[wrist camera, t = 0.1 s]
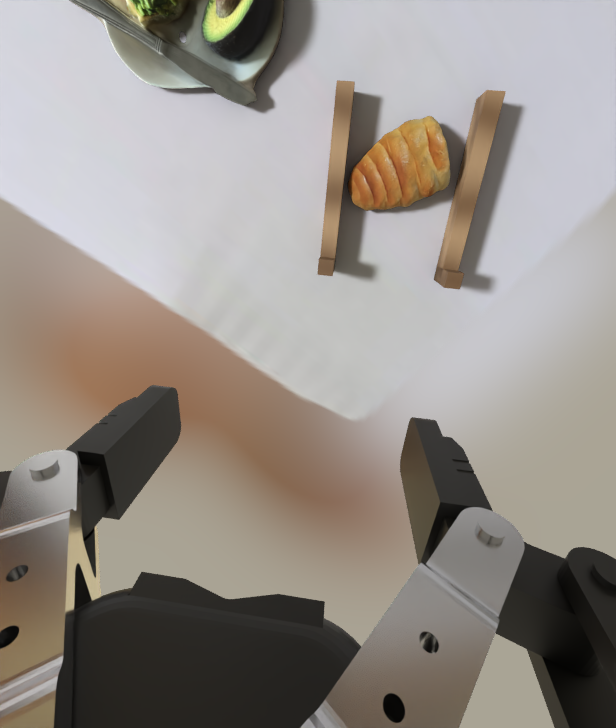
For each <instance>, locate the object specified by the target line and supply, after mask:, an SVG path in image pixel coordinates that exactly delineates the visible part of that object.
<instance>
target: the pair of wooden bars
mask: <svg viewBox="0 0 616 728" xmlns="http://www.w3.org/2000/svg"><path fill="white" fill-rule="evenodd" d="M505 92H506V91H492V90H487V91H486V92H484V93H483V94H482V95H481V96H480V97H479V98H478V99H477V100H476V104H475V108H474V112H473V117H472V121H471V125H470V129H469V134H468V138H467V142H466V146H465V150H464V155H463V159H462V163H461V167H460V171H459V176H458V180H457V184H456V188H455V192H454V197H453V201H452V205H451V209H450V213H449V218H448V222H447V226H446V230H445V235H444V239H443V243H442V247H441V251H440V256H439V260H438V264H437V268H436V272H435V277H434V280H435V281H436V282H438V283H439V284H440V285H442V286H443V287H444V288H453V289H460V287H461V283H462V279H463V276H464V273H462V272H460V271H458V269H459V265H460V262H461V258H462V254H463V250H464V247H465V243H466V239H467V235H468V232H469V228H470V224H471V220H472V216H473V213H474V209H475V205H476V201H477V198H478V194H479V190H480V186H481V182H482V179H483V175H484V171H485V167H486V164H487V160H488V156H489V152H490V148H491V145H492V141H493V137H494V133H495V130H496V126H497V122H498V118H499V115H500V111H501V107H502V103H503V99H504V96H505ZM353 97H354V82H352V81H337V86H336V96H335V107H334V118H333V128H332V139H331V150H330V160H329V171H328V182H327V193H326V203H325V214H324V225H323V235H322V246H321V257H320V258H319V265H318V275H327V276H333V272H334V266H335V257H336V249H337V240H338V231H339V222H340V213H341V204H342V195H343V186H344V177H345V168H346V159H347V150H348V141H349V132H350V124H351V115H352V106H353Z"/></svg>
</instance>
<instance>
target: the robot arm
mask: <svg viewBox="0 0 616 728" xmlns="http://www.w3.org/2000/svg"><path fill="white" fill-rule="evenodd" d="M180 430H181V421H180V413H179V402H178V394H177V390H176V389H175V388H172V387H163V386H156V385H152V386H150V387H149V388H147V390H145V391H144V392H143V393H142V394H141V395H140V396H138V397H137V398H136V397H135V398H132V399H130V400H128V401H126V402H124V403H121V404H120V405H118V406H117V407H116V408H115V409H114V410H112V411H111V412H110V413H109V414H108V416H105V417H104V418H103V419H102V420H100V421H99V424H98V423H97V424H96V425H94V426H93V427H92V428H91V429H90V430H88V431H87V432H86V433H85V434H84V435H82V436H81V437H80V438H79V439H78V440H77V441H75V442H74V443H73V444H72V445H71V446H69V447H68V448H67V449H66V450H52V451H47V452H43V453H40V454H37V455H35V456H32V457H30V458H28V459H26V460H25V461H23V462H22V463H20V464H19V465H18V466H16V467H15V468H14V470H13V471H4V472H0V728H459V726H460V724H461V721H462V718H463V716H464V713H465V711H466V708H467V705H468V703H469V700H470V698H471V695H472V692H473V690H474V687H475V685H476V682H477V679H478V677H479V674H480V671H481V668H482V666H483V664H484V661H485V658H486V656H487V653H488V651H489V648H490V645H491V643H492V640H493V638H494V635H495V633H496V634H498V635H500V636H502V637H504V638H506V639H508V640H510V641H512V642H514V643H516V644H518V645H520V646H522V647H524V648H526V649H527V651H528V654H529V657H530V659H531V662H532V665H533V668H534V671H535V674H536V676H537V679H538V682H539V685H540V688H541V690H542V693H543V696H544V699H545V702H546V704H547V707H548V710H549V713H550V716H551V718H552V721H553V724H554V727H555V728H616V559H614V558H612V557H611V556H609V555H607V554H605V553H603V552H600V551H597V550H595V549H591V548H585V547H578V548H574V549H572V550H571V551H570V552H569V553H568V555H567V557H566V558H565V559H564V558H561V557H559V556H557V555H554V554H552V553H549V552H546V551H544V550H541V549H539V548H536V547H534V546H531V545H529V544H527V543H525V542H524V541H523V538H522V536H521V535H520V533H519V532H518V530H517V529H516V528H515V527H514V526H513V525H512V524H511V523H510V522H509V521H508V520H506V519H505V518H504V517H502V516H501V515H499V514H497V513H495V512H493V511H492V508H491V506H490V504H489V502H488V500H487V498H486V496H485V494H484V491H483V489H482V487H481V485H480V483H479V481H478V479H477V477H476V475H475V474H474V471H473V469H472V467H471V465H470V464H469V460H468V458H467V456H466V454H465V452H464V450H463V448H462V447H460V446H459V445H458V444H457V443H456V442H455V441H454V440H453V439H452V438H450V437H443V436H442V434H441V431H440V429H439V426H438V424H437V422H436V421H435V420H430V419H421V418H413V417H412V418H411V419H410V421H409V425H408V429H407V433H406V437H405V442H404V446H403V450H402V454H401V461H400V472H401V477H402V483H403V488H404V493H405V498H406V503H407V508H408V513H409V518H410V523H411V528H412V534H413V538H414V544H415V549H416V554H417V559H418V564H419V565H418V567H417V568H416V569H415V571H414V572H413V574H412V575H411V577H410V578H409V579H408V581H407V582H406V584H405V585H404V587H403V588H402V589H401V591H400V592H399V594H398V595H397V597H396V598H395V599H394V601H393V602H392V604H391V605H390V607H389V608H388V610H387V611H386V612H385V614H384V615H383V617H382V618H381V620H380V621H379V622H378V624H377V626H376V627H375V628H374V630H373V631H372V633H371V634H370V635H369V637H368V639H367V640H366V641H365V643H364V644H363V646H362V647H361V646H360V645H359V644H358V643H357V642H356V640H354V638H353V637H351V636H350V635H349V634H348V633H346V632H345V631H344V630H343V629H342V628H340V627H339V626H337V625H335V624H334V623H332V622H330V621H328V620H326V619H324V601H317V600H311V599H305V598H298V597H292V596H286V595H280V594H275V595H266V596H257V597H250V598H240V599H225V598H222V597H220V596H218V595H216V594H214V593H212V592H210V591H208V590H206V589H204V588H202V587H200V586H198V585H196V584H194V583H192V582H190V581H188V580H186V579H183V578H176V577H170V576H164V575H158V574H152V573H145V572H141V574H140V576H139V577H138V580H137V581H136V583H135V585H134V586H133V588H129V589H124V590H119V591H116V592H112V593H110V594H107V595H104V596H101V591H100V572H99V550H98V549H99V547H98V531H97V527H96V524H97V523H98V522H99V521H100V520H101V518H102V517H105V518H112V519H118V520H119V519H120V518H121V517H122V515H123V514H124V513H125V511H126V510H127V508H128V507H129V506H130V504H131V503H132V502H133V500H134V499H135V498H136V496H137V495H138V494H139V492H140V491H141V490H142V488H143V487H144V486H145V484H146V483H147V482H148V480H149V479H150V478H151V476H152V475H153V474H154V472H155V471H156V470H157V468H158V467H159V465H160V464H161V463H162V462H163V460H164V459H165V457H166V456H167V455H168V453H169V452H170V451H171V449H172V448H173V447H174V445H175V444H176V443H177V441H178V438H179V435H180Z"/></svg>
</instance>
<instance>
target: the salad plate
mask: <svg viewBox="0 0 616 728" xmlns="http://www.w3.org/2000/svg"><path fill="white" fill-rule="evenodd" d="M70 1H71V2H72V3H74V4H75V5H77V6H79V7H80V8H82V9H84V10H86V11H87V12H89V13H91V14H92V15H93V16H95V17H96V18H98V19H99V20H100V21H101V22H102V23H103V25H104V26H105V28H106V31H107V33H108V35H109V38H110V41H111V43H112V45H113V47H114V49H115V51H116V53H117V54H118V56H119V57H120V58H121V60H122V61H123V62H124V63H125V65H126V66H127V67H128V68H129V69H130V70H131V71H132V72H133V73H134V74H135V75H136V76H137V77H138V78H139V79H141V80H142V81H143V82H145V83H147V84H149V85H152V86H156V87H161V88H169V89H183V88H198V87H209V88H213V89H214V91H215V92H216V93H217V94H219V95H221V96H222V97H224V98H226V99H228V100H231V101H233V102H235V103H238V104H241V105H244V106H246V105H248V104H250V103H252V102H255V101H257V98H256V92H255V91H254V86H255V83H256V81H257V79H258V78H259V76H260V75H261V74H262V72H263V71H264V70H265V68H266V67H267V65H268V64H269V62H270V61H271V59H272V57H273V56H274V54H275V51H276V49H277V46H278V44H279V40H280V36H281V31H282V24H283V16H284V0H70ZM180 31H182V32H184V33H185V35H186V42H185V43H182V42H181V41H180V39H179V33H180Z"/></svg>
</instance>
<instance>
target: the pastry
mask: <svg viewBox="0 0 616 728" xmlns="http://www.w3.org/2000/svg"><path fill="white" fill-rule="evenodd" d="M449 181H450V161H449V154H448V149H447V142H446V139H445V138H444V136H443V134H442V129H441V127H440V125H439V123H438V122H437V121H436V120H435V119H434V118H433V117H432V116H427V117H425V118H423V119H420V120H418V119H414V120H410V121H407V122H405V123H403V124H402V125H401V126H400V127H398V128H397V129H395V130H393V131H392V132H389V133H387V134H385V135H384V136H383V137H382V139H381V140H379V141H378V142H377V143H376V144H375V145H374V146H373V147H372V149H371V150H369V151H368V152H367V154H366V155H365V156H364V157H363V158H362V159H361V160H360V161H359V162H358V163H357V165H355V166H354V167H353V170H352V173H351V176H350V179H349V181H348V190H349V193H350V196H351V199H352V202H353V203H354V204H355V205H356V206H358V207H360V208H362V209H364V210H366V211H368V210H374V209H383V210H386V209H391V208H394V207H399V206H401V207H408V206H410V205H411V204H412V203H414V202H415V201H418V200H420V199H422V198H424V197H429V196H431V195H433V194H434V193H435V192H437V191H440V190H444V189H445V188H446V187H447V186H448V184H449Z"/></svg>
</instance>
